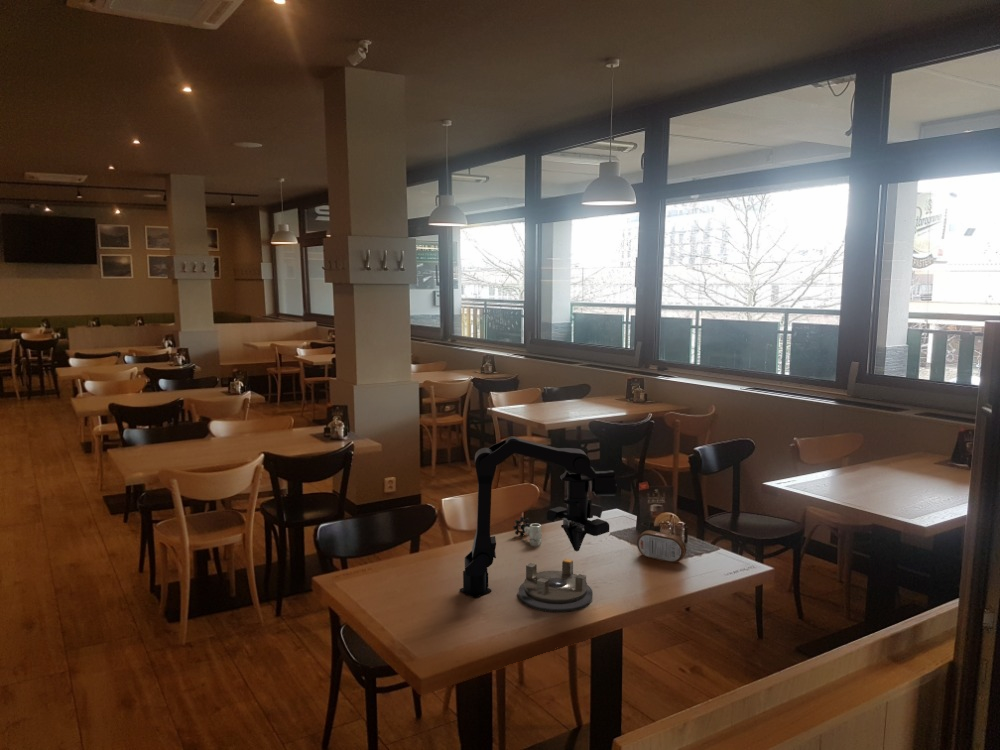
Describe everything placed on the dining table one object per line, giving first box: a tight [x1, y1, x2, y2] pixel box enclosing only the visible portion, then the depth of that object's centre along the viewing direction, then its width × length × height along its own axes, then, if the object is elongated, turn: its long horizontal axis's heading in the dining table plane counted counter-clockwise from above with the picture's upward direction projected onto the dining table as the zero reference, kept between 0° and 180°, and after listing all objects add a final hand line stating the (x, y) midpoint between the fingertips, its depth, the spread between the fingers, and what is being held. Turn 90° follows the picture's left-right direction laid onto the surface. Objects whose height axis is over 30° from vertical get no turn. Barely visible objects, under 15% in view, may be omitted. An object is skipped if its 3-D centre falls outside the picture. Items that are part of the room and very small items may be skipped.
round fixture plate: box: [523, 558, 588, 604], centre depth 188 cm, size 17×17×6 cm
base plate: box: [518, 582, 594, 613], centre depth 189 cm, size 20×20×2 cm
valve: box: [512, 516, 543, 547], centre depth 231 cm, size 7×7×12 cm
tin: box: [636, 529, 687, 564], centre depth 214 cm, size 15×3×8 cm, turn 58°
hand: (576, 550), depth 192 cm, fingers closed
